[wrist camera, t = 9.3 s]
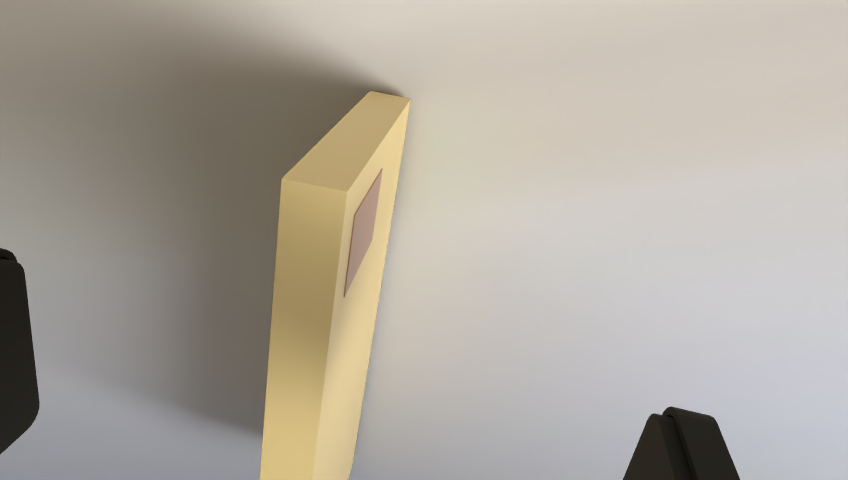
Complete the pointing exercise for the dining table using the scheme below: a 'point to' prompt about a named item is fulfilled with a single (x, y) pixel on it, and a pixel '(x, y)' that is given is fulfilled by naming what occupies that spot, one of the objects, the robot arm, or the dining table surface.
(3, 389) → the robot arm
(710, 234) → the dining table surface
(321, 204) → the tall yellow upright plank
